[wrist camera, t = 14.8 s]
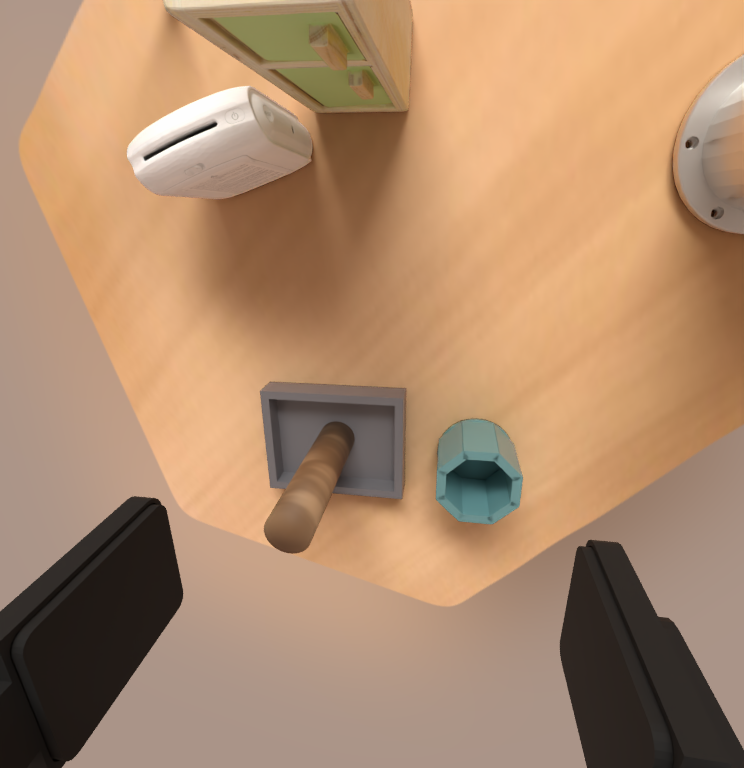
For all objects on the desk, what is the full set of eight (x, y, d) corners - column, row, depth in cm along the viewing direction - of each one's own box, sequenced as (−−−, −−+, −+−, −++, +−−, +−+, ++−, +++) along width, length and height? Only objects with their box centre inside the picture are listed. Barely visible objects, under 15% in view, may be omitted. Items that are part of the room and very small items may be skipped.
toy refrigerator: (312, 124, 37) (161, 30, 18) (309, 16, 35) (130, -231, 15) (408, 124, 36) (357, 22, 17) (413, 11, 34) (359, -262, 14)
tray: (406, 388, 44) (403, 398, 42) (404, 484, 48) (402, 499, 46) (270, 381, 46) (260, 390, 44) (279, 474, 50) (270, 487, 48)
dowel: (354, 422, 46) (309, 515, 32) (355, 453, 47) (313, 555, 33) (319, 420, 46) (261, 510, 33) (321, 451, 48) (266, 550, 34)
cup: (516, 420, 44) (526, 454, 38) (509, 486, 46) (517, 527, 40) (439, 416, 45) (436, 447, 39) (436, 480, 47) (433, 519, 41)
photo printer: (303, 108, 37) (237, 62, 26) (321, 163, 38) (266, 142, 27) (199, 156, 40) (97, 133, 28) (219, 205, 41) (129, 203, 30)
